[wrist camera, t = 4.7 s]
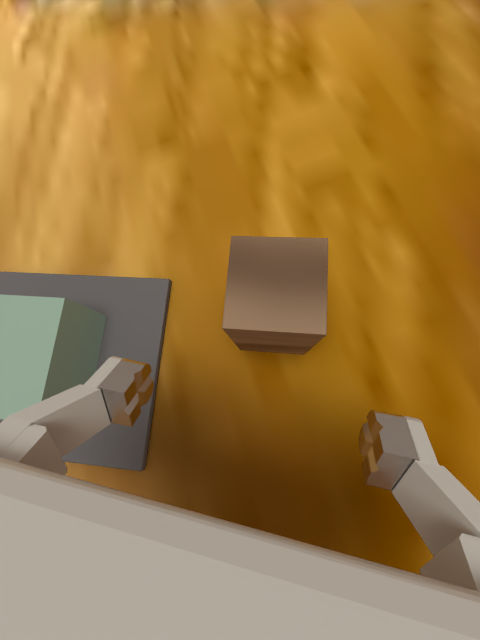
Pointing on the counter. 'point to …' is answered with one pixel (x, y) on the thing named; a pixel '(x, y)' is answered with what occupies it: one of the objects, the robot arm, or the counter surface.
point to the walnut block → (276, 293)
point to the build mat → (111, 347)
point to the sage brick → (45, 348)
